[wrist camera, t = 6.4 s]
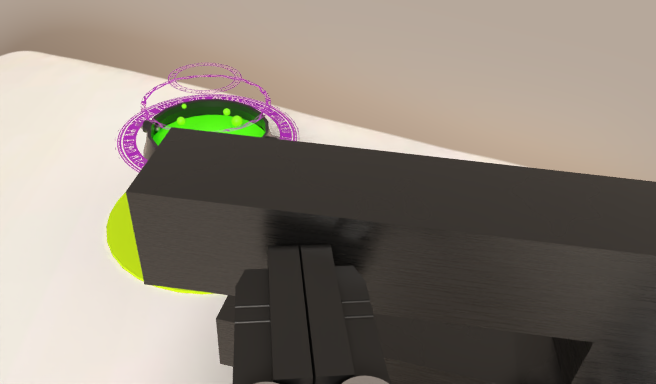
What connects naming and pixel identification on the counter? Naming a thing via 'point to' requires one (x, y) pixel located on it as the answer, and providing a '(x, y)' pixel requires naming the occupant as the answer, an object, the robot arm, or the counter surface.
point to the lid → (417, 238)
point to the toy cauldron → (188, 116)
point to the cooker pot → (442, 352)
